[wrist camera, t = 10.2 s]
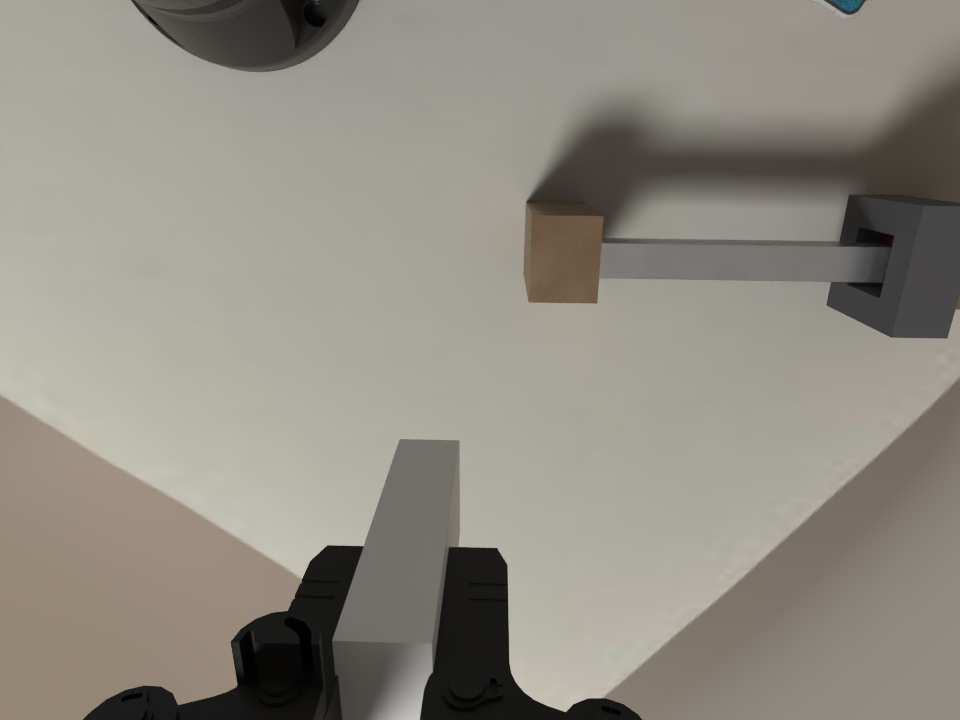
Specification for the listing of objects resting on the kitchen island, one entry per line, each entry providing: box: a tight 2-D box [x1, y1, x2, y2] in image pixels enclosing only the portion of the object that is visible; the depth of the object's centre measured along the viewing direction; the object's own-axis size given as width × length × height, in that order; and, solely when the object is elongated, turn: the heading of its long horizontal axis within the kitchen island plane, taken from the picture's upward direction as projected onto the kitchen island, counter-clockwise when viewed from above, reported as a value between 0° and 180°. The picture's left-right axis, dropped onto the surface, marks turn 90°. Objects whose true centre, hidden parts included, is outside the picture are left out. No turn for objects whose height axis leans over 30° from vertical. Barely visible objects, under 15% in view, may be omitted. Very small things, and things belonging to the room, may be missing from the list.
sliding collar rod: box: [524, 202, 960, 309], centre depth 38 cm, size 5×28×8 cm, turn 89°
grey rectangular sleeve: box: [827, 195, 960, 338], centre depth 35 cm, size 7×3×7 cm, turn 179°
